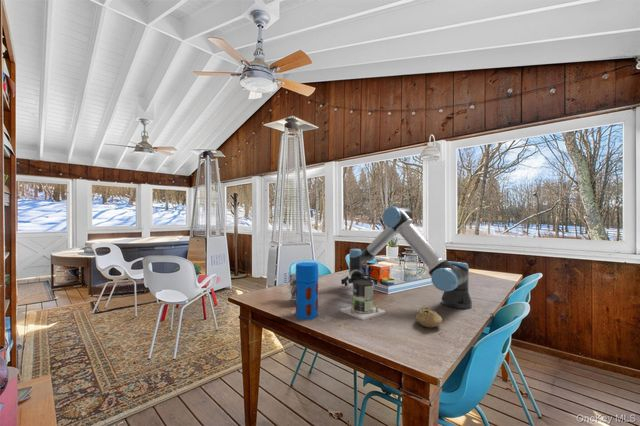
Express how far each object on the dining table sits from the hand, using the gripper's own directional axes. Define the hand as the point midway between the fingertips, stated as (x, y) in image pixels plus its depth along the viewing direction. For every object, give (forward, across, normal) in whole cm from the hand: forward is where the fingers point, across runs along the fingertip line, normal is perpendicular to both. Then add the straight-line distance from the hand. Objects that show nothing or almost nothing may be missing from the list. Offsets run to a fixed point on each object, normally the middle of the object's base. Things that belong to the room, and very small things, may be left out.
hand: (360, 285), depth 157 cm
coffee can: (+10, 0, -10) cm, 14 cm away
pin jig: (+10, 0, -11) cm, 15 cm away
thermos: (+16, +28, -11) cm, 34 cm away
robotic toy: (-6, +34, -11) cm, 36 cm away
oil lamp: (+26, -27, -11) cm, 39 cm away
